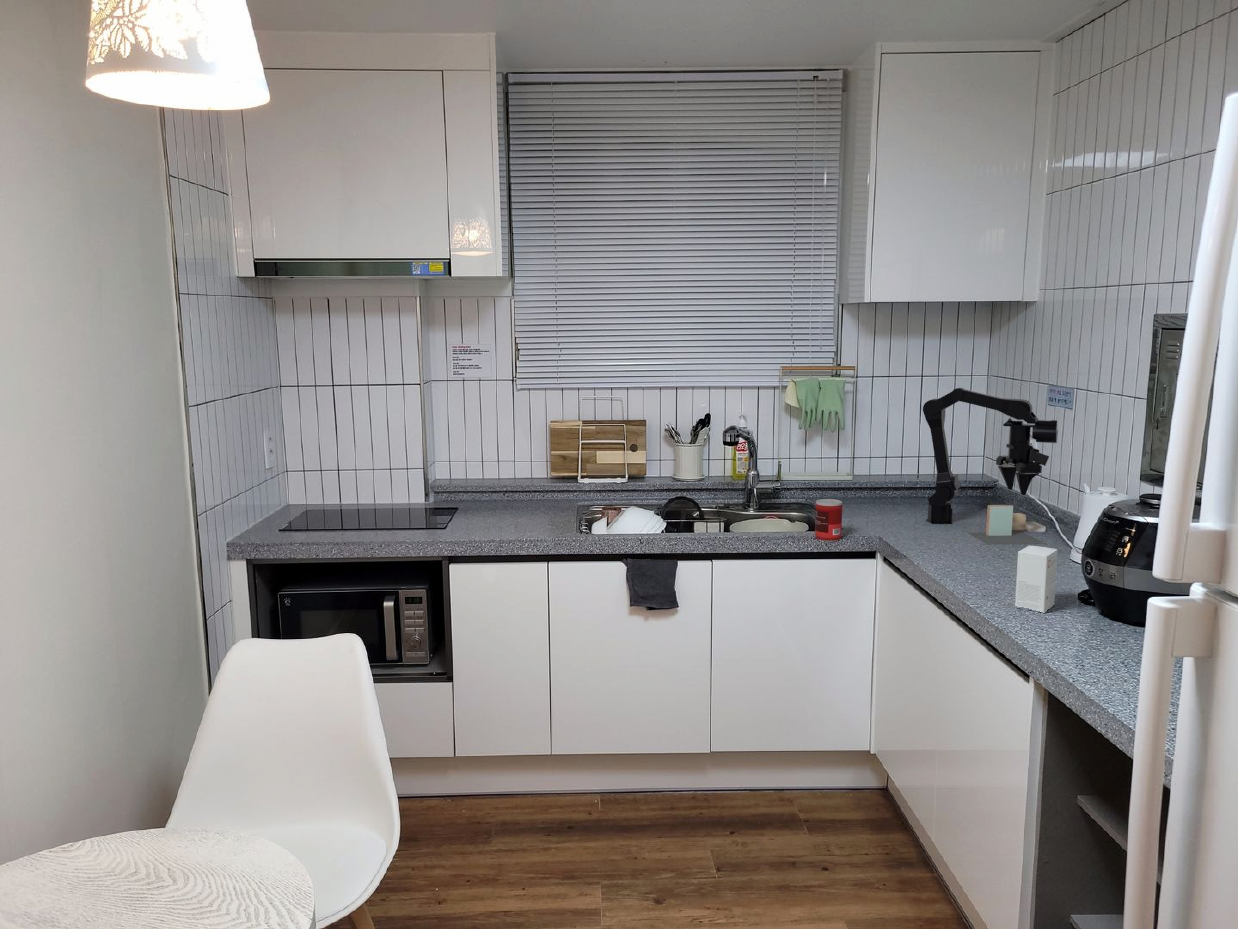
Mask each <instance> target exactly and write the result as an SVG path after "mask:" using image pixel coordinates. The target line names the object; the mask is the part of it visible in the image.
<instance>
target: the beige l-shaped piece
mask: <svg viewBox="0 0 1238 929" xmlns="http://www.w3.org/2000/svg"><path fill="white" fill-rule="evenodd" d="M1026 520H1027V515H1026V514H1024V513H1023V512H1016V513H1015V512H1013V522H1012V531H1026V532H1028V533H1039V532H1040V533H1043V532H1044V533H1045V532H1046V529H1047V528H1046V526H1045V525H1042V524H1040V523H1038V522H1036V521H1026Z"/></svg>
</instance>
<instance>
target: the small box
mask: <svg viewBox="0 0 1238 929" xmlns="http://www.w3.org/2000/svg"><path fill="white" fill-rule="evenodd" d="M1058 552H1059V551H1058V548H1053V547H1052V548H1051V547H1046V546H1040V545H1039V546H1037V545H1032V544H1028V545H1026V547H1024V548H1022V549H1020V550H1019V551H1017V562H1016V564H1017V565H1016V566H1017V567H1016V579H1015V580H1016V581H1015V598H1014V602H1015V604H1014V607H1015V606H1017V607H1024V608H1029V609H1032V610H1036V611H1040V612H1043V613H1044V614H1045V613H1046V612H1047V610H1048V609H1049V610H1050V609H1051V608H1053V607H1054V606H1055V598H1056V597H1055V596H1056V582H1057V580H1056V579H1057V566H1058V564H1057V563H1058ZM1053 605H1054V606H1053ZM1049 610H1048V611H1049ZM1043 613H1042V614H1043Z"/></svg>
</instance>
